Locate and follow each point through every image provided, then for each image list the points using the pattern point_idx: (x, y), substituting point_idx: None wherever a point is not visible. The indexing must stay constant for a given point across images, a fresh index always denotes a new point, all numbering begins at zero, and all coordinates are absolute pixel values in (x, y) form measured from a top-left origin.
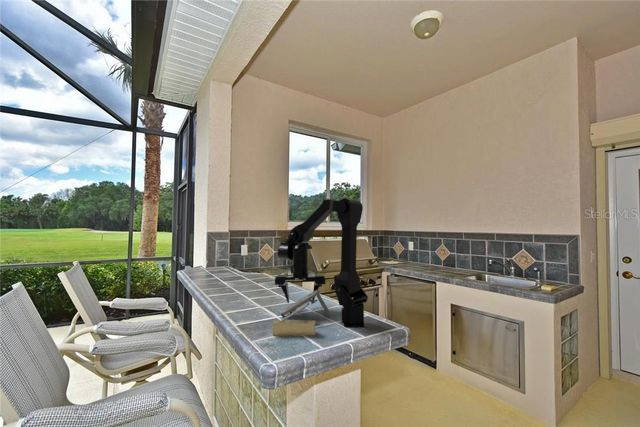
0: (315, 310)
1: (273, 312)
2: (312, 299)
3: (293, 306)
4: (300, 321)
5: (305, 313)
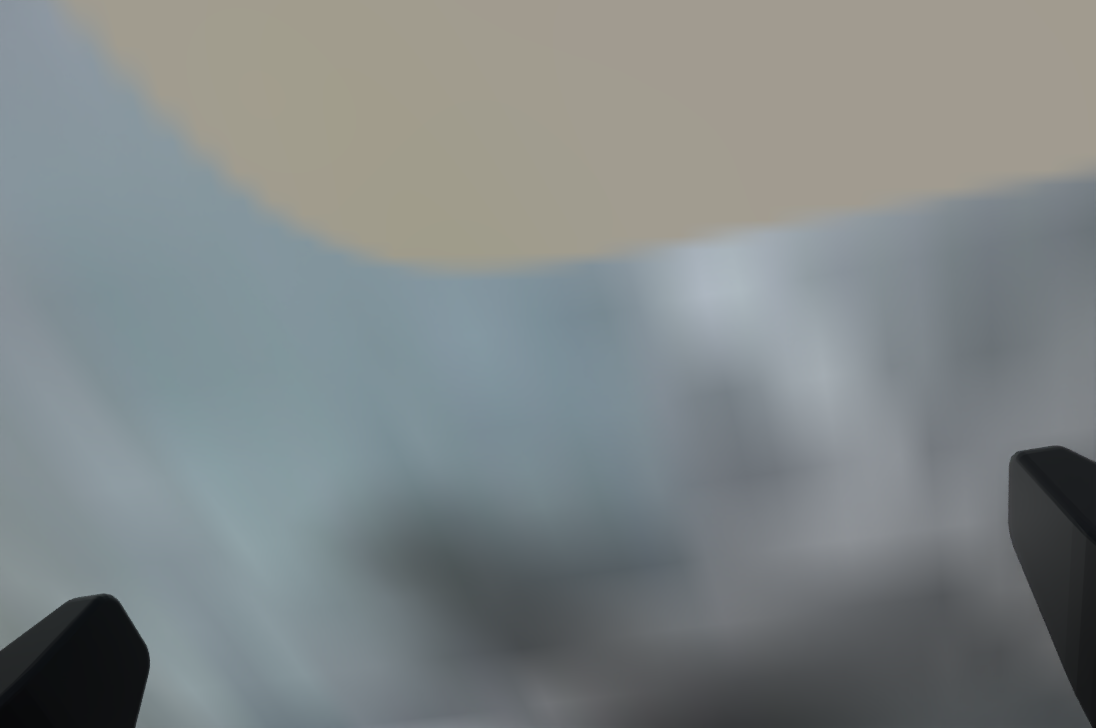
0: None
1: None
2: (1079, 689)
3: None
4: None
5: (769, 691)
